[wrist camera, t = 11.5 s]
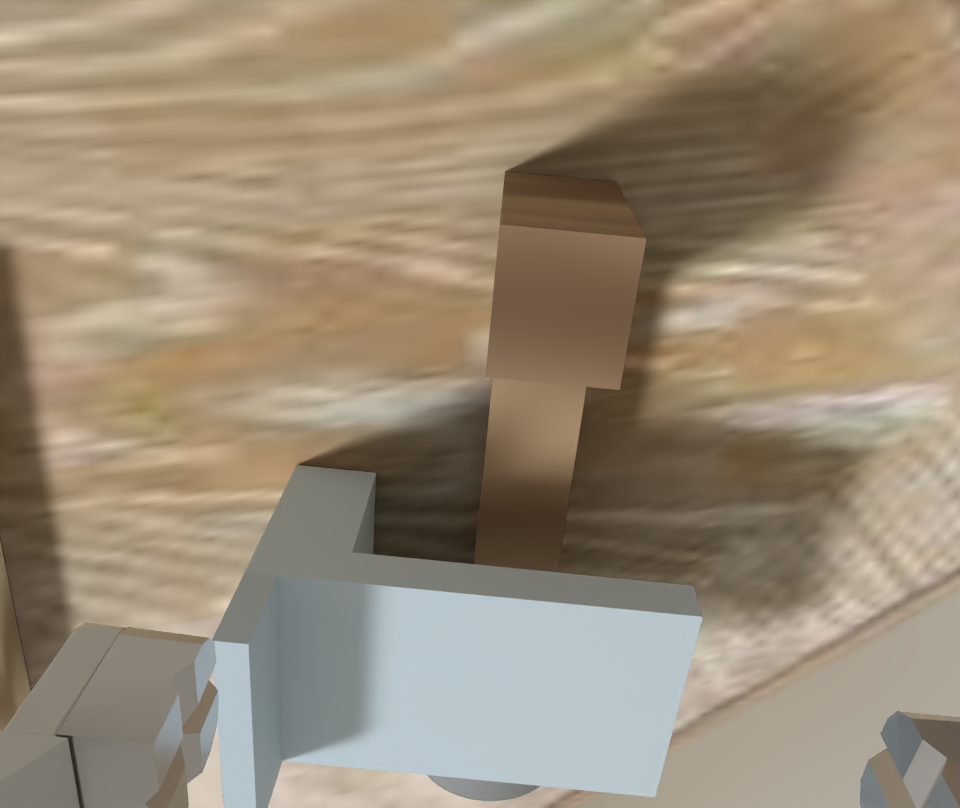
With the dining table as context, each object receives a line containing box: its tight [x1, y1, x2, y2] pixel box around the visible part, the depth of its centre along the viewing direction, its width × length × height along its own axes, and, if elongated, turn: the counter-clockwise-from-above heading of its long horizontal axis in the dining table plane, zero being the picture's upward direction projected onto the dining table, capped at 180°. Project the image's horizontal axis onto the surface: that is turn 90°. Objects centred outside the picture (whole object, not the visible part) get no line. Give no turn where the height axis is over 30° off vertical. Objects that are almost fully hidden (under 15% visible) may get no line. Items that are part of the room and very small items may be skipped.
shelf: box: [212, 465, 703, 808], centre depth 28 cm, size 8×14×10 cm, turn 85°
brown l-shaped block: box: [473, 171, 647, 572], centre depth 26 cm, size 17×4×7 cm, turn 175°
